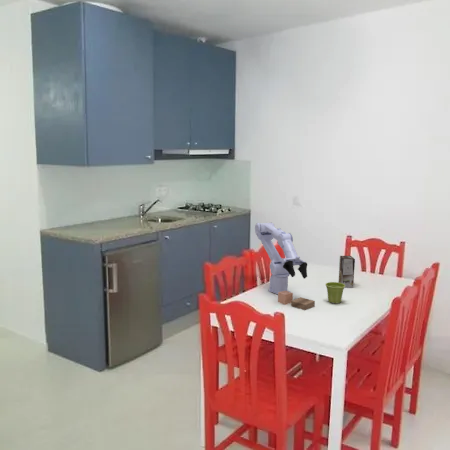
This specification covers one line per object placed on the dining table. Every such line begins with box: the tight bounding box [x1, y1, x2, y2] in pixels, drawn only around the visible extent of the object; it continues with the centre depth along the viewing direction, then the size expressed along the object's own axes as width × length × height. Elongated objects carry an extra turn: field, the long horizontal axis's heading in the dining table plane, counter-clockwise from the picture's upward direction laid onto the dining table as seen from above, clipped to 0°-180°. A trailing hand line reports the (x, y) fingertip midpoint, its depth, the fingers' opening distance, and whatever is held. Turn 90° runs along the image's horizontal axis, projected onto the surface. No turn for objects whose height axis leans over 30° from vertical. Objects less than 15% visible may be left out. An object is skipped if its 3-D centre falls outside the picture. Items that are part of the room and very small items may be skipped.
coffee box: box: [338, 255, 356, 289], centre depth 253 cm, size 9×6×16 cm
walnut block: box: [290, 297, 316, 311], centre depth 219 cm, size 8×8×3 cm
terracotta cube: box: [277, 290, 294, 305], centre depth 224 cm, size 5×5×5 cm
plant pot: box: [325, 281, 345, 304], centre depth 226 cm, size 9×9×9 cm
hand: (299, 276), depth 220 cm, fingers open, 7 cm apart
